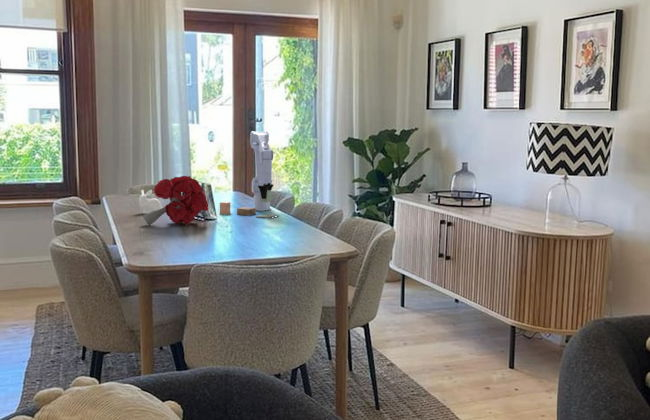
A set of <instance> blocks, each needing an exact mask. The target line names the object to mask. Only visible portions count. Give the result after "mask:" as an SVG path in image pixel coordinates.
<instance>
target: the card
mask: <svg viewBox="0 0 650 420" xmlns="http://www.w3.org/2000/svg"><path fill="white" fill-rule="evenodd" d="M277 215H278V214H268V213H264V214H260V215H256V216H255V218H256V217H258V218H257V219H265V218H271V219H273V218H272V217H275V216H277ZM278 216H279V217H280V215H278ZM275 218H276V217H275Z"/></svg>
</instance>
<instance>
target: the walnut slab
mask: <svg viewBox="0 0 650 420" xmlns="http://www.w3.org/2000/svg"><path fill="white" fill-rule="evenodd" d="M256 211H257V210H256V208H254V207H251V206H250V207H249V206H242V207H237V208H236V214H237V215H238V216H239V215H240V216H247V215H249V216H253V215H252V214H254V215H256V214H257V213H256Z"/></svg>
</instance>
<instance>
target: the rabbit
mask: <svg viewBox="0 0 650 420" xmlns="http://www.w3.org/2000/svg"><path fill="white" fill-rule="evenodd" d="M144 191H145V190H144V189H141V191H140V194H141V195H139V198H138V202H139V207H140V208H141V209H142V210H143V211H142V214H144V215H145V214H147V213H150V212H153V211H156V210H159V209H162V208H164V207H163V206H162V203H161V201H160V200H159V198H158V199H157V198H155V197H154V198H153V197H152V198H147V197H148V196H150V195H152V194H153V190H152V189H149V190H148V191H146V192H144Z"/></svg>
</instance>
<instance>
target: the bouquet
mask: <svg viewBox="0 0 650 420" xmlns="http://www.w3.org/2000/svg"><path fill="white" fill-rule="evenodd" d="M153 192H154V195H155V196H156V197H157V198H158V199H163V200H169V203H168V204H166V205H165V206H164V207H163V208H162V209H159V210H156V211H153V212H150V213H147V214H144V215H142V218H143V220H144V221H145V222H146V224H147V225H148V226H150V225H153V224H154V223H155V222H156V221H157V220H159V218H161V216H163V215H164V214H166V216H168V218H169V220H171V222H172V223H174V224H182V223H184V225H186V226H188V225H190V223H191V222H193V221H194V219H195V217H196V216H198V215H199V214H200V213H201V212H202V211H205V212H208V211H209V202H208V200H207V194H205V192H204V190H203V188H202V185H201V184H200V182H199V181H198V180H197V179H195V178H193V177H192V176H190V175H188V176H187V175H181V176H174V177H173V178H170V179H169V178H163V179H161V180H159V181H158V182H157V183H156V185H154V187H153Z"/></svg>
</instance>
